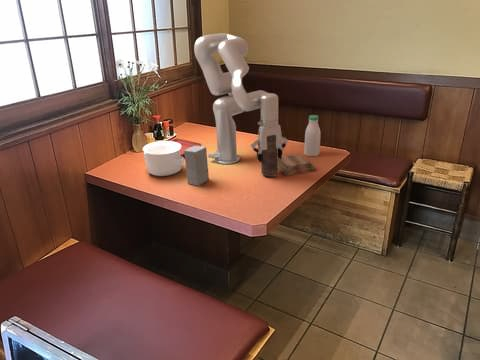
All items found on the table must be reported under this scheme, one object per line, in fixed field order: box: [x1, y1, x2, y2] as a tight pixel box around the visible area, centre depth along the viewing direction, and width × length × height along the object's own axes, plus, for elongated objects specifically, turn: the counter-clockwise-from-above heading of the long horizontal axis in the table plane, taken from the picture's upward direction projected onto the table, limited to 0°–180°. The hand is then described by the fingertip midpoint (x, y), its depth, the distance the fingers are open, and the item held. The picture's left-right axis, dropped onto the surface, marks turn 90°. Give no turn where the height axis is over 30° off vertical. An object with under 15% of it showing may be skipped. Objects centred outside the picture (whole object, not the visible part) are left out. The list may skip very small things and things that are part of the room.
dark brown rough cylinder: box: [260, 135, 279, 177], centre depth 185 cm, size 8×7×20 cm
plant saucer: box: [171, 137, 203, 158], centre depth 220 cm, size 18×18×3 cm
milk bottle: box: [303, 114, 322, 157], centre depth 207 cm, size 8×8×20 cm
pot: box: [142, 140, 185, 177], centre depth 194 cm, size 22×17×12 cm
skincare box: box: [184, 145, 210, 187], centre depth 182 cm, size 8×7×16 cm
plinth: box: [277, 153, 317, 177], centre depth 196 cm, size 16×16×4 cm
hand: (269, 159), depth 186 cm, fingers open, 9 cm apart
